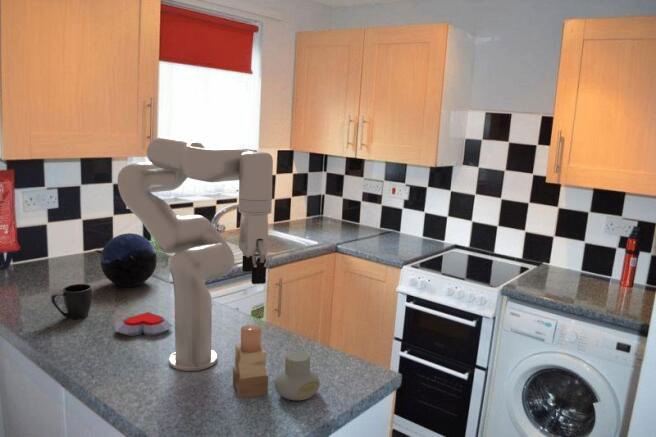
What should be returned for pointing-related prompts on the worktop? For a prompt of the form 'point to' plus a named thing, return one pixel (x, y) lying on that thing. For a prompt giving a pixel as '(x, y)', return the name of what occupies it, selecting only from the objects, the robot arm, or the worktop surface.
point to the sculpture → (143, 325)
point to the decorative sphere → (128, 259)
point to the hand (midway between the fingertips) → (253, 277)
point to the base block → (250, 385)
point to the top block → (250, 363)
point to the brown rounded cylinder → (250, 338)
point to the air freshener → (297, 378)
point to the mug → (75, 301)
